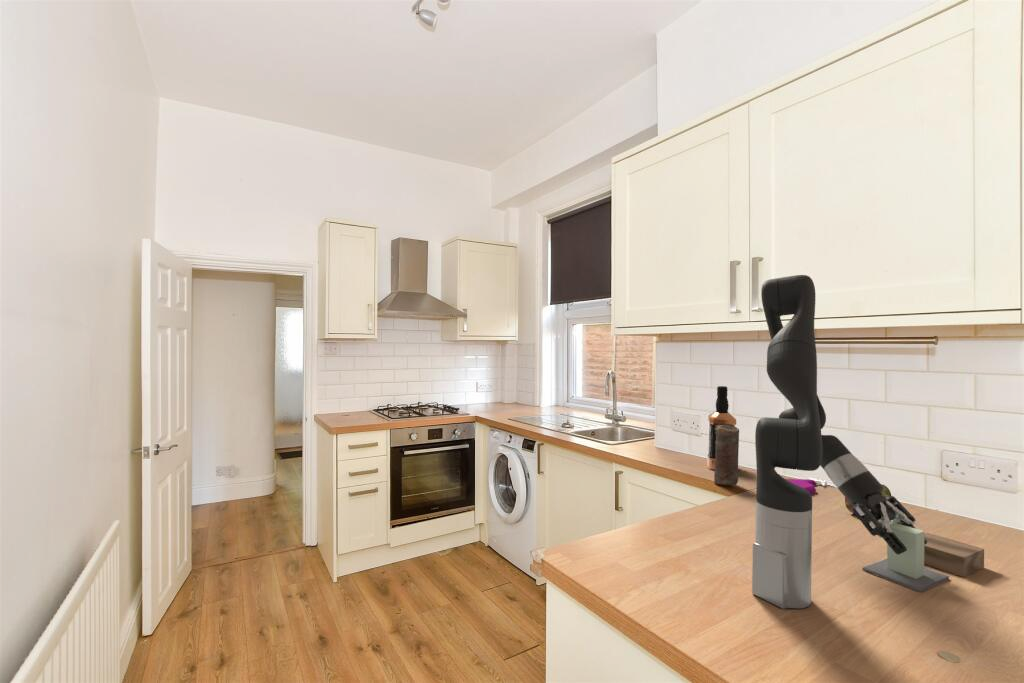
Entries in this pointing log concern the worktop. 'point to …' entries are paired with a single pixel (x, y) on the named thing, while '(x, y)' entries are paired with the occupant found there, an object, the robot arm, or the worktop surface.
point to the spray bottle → (808, 483)
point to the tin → (885, 493)
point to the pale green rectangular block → (913, 557)
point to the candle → (726, 455)
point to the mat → (917, 584)
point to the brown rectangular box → (952, 555)
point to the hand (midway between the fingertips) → (913, 548)
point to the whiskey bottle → (718, 422)
